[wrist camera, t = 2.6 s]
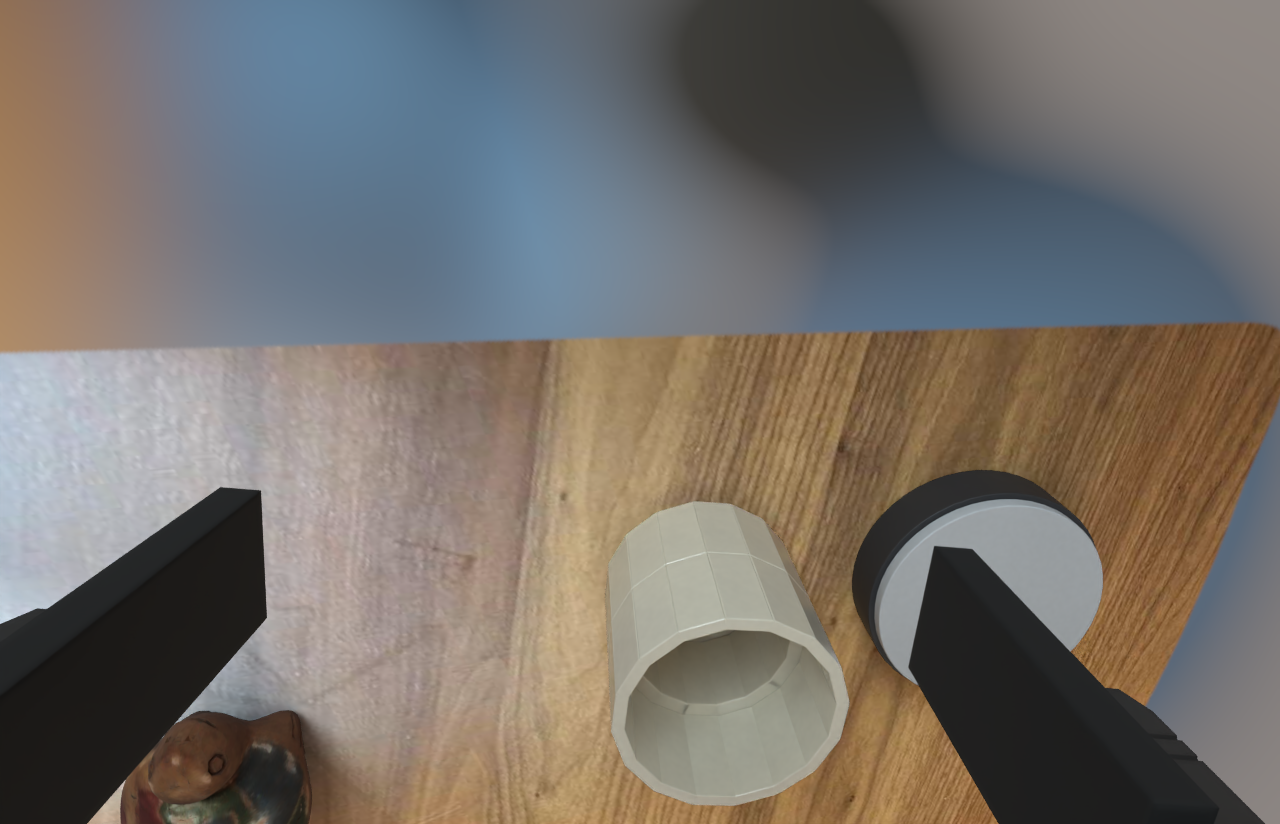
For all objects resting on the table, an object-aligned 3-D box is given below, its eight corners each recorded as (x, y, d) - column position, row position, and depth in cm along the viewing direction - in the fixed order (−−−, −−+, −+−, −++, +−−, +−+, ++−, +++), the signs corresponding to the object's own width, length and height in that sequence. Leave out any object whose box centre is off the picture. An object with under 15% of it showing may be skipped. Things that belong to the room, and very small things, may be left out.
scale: (1005, 425, 42) (1041, 453, 38) (1106, 577, 46) (1147, 614, 42) (809, 560, 44) (827, 598, 41) (922, 693, 48) (948, 737, 45)
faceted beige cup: (715, 459, 41) (758, 575, 31) (820, 582, 44) (891, 723, 34) (567, 568, 43) (563, 711, 33) (680, 678, 46) (707, 839, 36)
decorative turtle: (307, 641, 43) (261, 758, 36) (349, 820, 50) (319, 949, 43) (124, 655, 42) (41, 780, 35) (193, 836, 49) (134, 972, 42)
